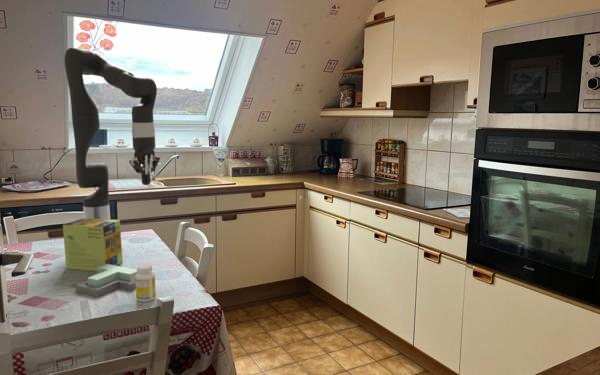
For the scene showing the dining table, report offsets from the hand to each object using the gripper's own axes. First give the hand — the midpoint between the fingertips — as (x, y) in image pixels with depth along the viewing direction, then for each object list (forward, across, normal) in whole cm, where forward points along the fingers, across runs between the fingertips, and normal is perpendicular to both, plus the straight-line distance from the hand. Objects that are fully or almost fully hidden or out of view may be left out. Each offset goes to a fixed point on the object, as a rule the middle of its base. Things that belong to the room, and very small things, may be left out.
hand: (146, 184), depth 172 cm
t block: (+27, +26, +8) cm, 39 cm away
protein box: (+27, +15, -11) cm, 33 cm away
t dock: (+27, +30, +8) cm, 41 cm away
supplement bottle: (+27, +29, +26) cm, 48 cm away
